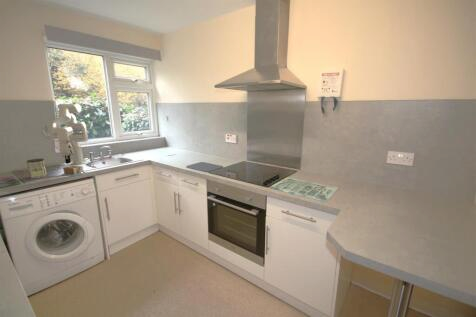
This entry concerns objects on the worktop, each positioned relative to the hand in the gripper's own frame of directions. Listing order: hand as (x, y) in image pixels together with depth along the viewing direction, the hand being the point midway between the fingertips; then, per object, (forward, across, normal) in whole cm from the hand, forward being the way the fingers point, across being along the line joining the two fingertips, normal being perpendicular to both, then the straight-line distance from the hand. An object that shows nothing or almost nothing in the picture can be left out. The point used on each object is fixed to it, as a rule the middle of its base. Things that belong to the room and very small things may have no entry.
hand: (68, 163), depth 188 cm
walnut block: (+6, +2, 0) cm, 6 cm away
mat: (+9, -6, 0) cm, 11 cm away
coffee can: (+9, +16, +14) cm, 23 cm away
